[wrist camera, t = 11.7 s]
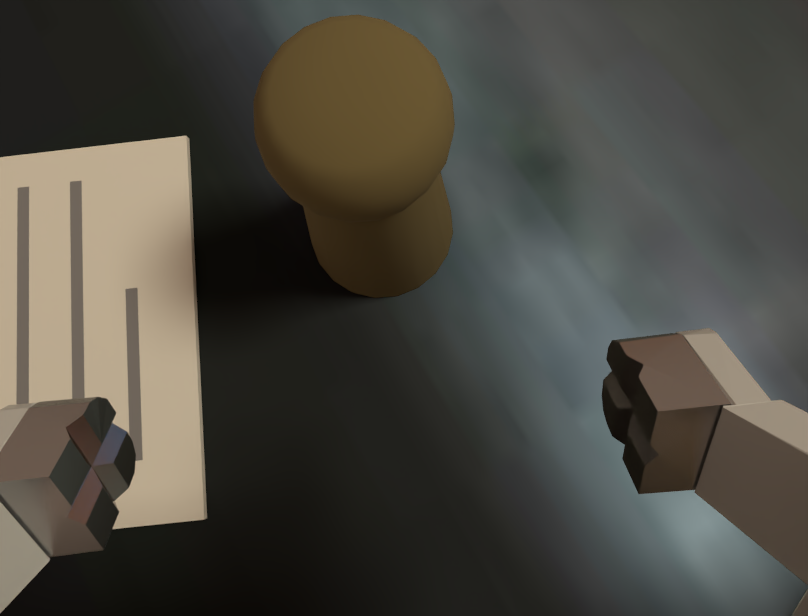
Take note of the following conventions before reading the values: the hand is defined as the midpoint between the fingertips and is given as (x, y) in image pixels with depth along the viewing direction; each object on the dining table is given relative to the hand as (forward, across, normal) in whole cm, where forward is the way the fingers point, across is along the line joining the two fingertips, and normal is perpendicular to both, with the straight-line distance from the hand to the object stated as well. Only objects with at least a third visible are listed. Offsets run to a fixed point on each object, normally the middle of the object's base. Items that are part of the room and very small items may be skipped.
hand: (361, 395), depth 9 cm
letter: (+13, -14, -7) cm, 20 cm away
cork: (+15, 0, -5) cm, 16 cm away
